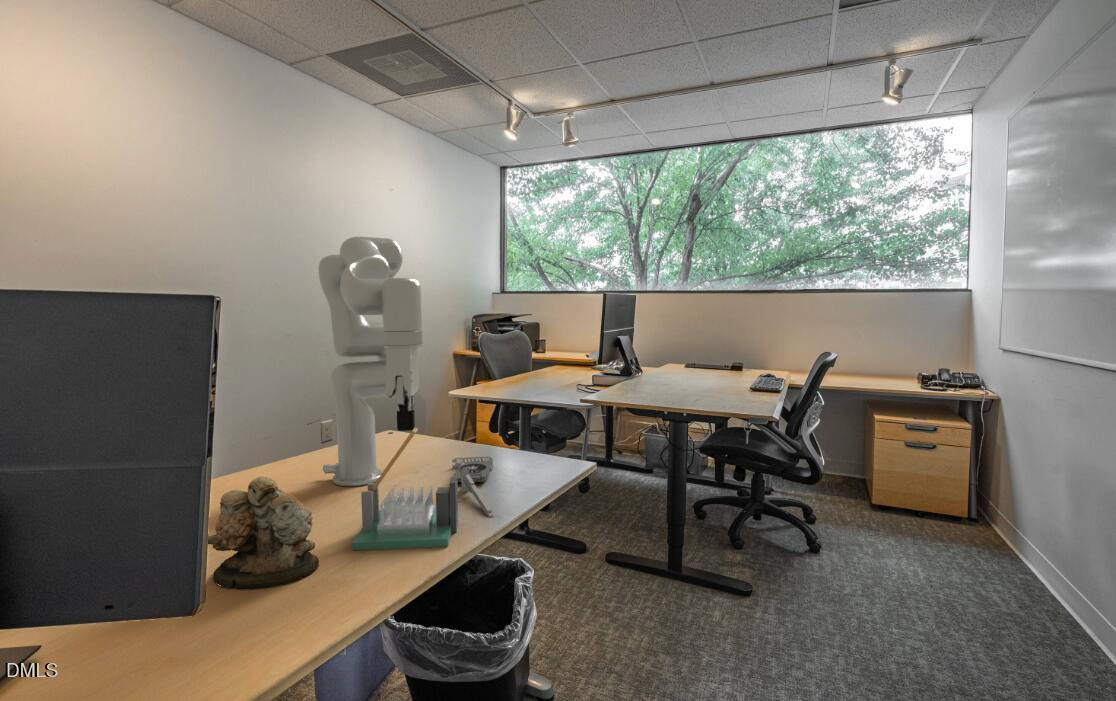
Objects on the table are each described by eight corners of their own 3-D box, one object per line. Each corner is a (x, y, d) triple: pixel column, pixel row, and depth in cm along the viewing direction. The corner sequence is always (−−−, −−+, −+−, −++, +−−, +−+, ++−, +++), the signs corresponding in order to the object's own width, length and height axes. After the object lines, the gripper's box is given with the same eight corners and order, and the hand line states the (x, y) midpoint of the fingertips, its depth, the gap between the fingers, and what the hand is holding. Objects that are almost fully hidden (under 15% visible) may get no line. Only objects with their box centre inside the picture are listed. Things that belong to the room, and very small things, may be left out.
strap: (369, 499, 107) (363, 496, 107) (372, 494, 110) (367, 491, 110) (416, 433, 107) (411, 430, 107) (418, 430, 110) (414, 426, 110)
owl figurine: (191, 595, 86) (184, 493, 85) (225, 561, 98) (219, 471, 96) (308, 585, 89) (303, 486, 87) (328, 553, 100) (323, 465, 99)
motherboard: (352, 550, 101) (350, 502, 100) (374, 517, 117) (372, 475, 116) (447, 546, 103) (446, 498, 102) (456, 513, 119) (455, 472, 118)
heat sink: (377, 535, 104) (376, 505, 104) (389, 515, 114) (388, 488, 114) (429, 533, 105) (428, 503, 105) (436, 513, 115) (435, 486, 115)
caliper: (461, 490, 135) (460, 466, 134) (465, 489, 135) (465, 465, 135) (489, 518, 117) (489, 491, 116) (494, 517, 117) (493, 490, 117)
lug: (436, 533, 109) (435, 483, 108) (439, 525, 112) (437, 477, 111) (456, 532, 109) (455, 482, 108) (458, 525, 113) (457, 477, 112)
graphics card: (452, 456, 153) (494, 455, 153) (453, 469, 154) (494, 467, 154) (440, 476, 137) (487, 474, 137) (441, 490, 137) (488, 488, 137)
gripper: (392, 338, 114) (395, 422, 115) (374, 342, 99) (378, 439, 100) (427, 337, 114) (430, 421, 116) (415, 341, 99) (418, 438, 101)
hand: (406, 429), depth 108 cm, fingers closed
